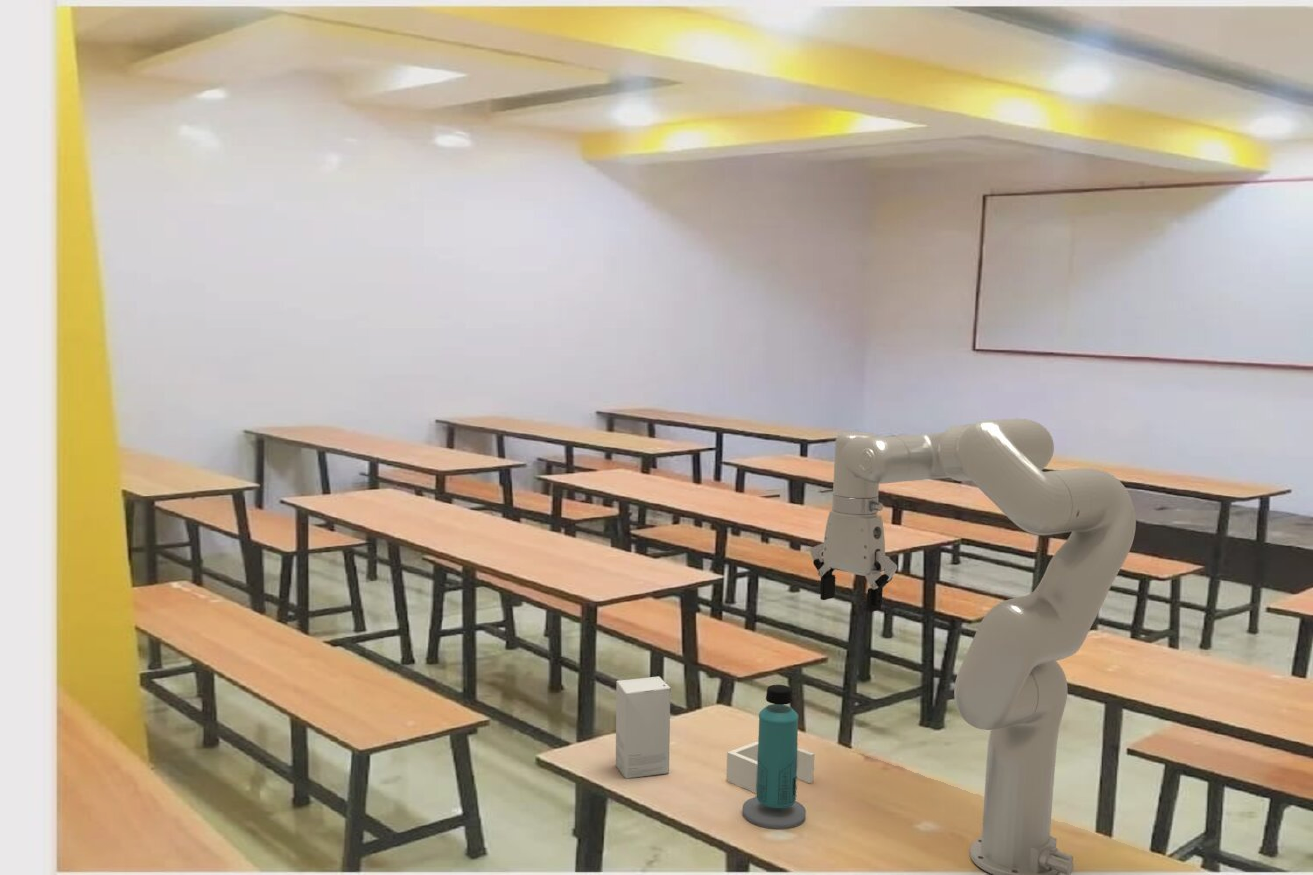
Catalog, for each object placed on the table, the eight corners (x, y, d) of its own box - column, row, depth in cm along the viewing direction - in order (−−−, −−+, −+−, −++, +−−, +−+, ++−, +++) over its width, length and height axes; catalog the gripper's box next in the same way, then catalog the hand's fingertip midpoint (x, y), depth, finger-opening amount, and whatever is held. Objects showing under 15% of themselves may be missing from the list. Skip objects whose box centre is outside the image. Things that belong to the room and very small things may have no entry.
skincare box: (658, 760, 206) (661, 675, 204) (670, 775, 200) (673, 687, 198) (613, 765, 203) (615, 678, 201) (623, 780, 197) (626, 691, 195)
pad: (818, 816, 185) (818, 810, 185) (777, 834, 178) (777, 828, 178) (770, 795, 192) (770, 790, 192) (729, 813, 185) (729, 807, 185)
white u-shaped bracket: (813, 781, 199) (814, 753, 198) (771, 799, 191) (772, 770, 190) (768, 763, 206) (769, 736, 205) (726, 780, 198) (727, 752, 198)
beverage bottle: (798, 818, 182) (803, 694, 180) (755, 817, 182) (760, 693, 180) (794, 800, 188) (799, 681, 186) (752, 799, 189) (757, 679, 186)
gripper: (911, 510, 193) (905, 611, 195) (827, 496, 205) (823, 591, 207) (884, 515, 187) (879, 619, 189) (800, 500, 200) (796, 597, 202)
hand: (850, 604), depth 198 cm, fingers open, 9 cm apart
